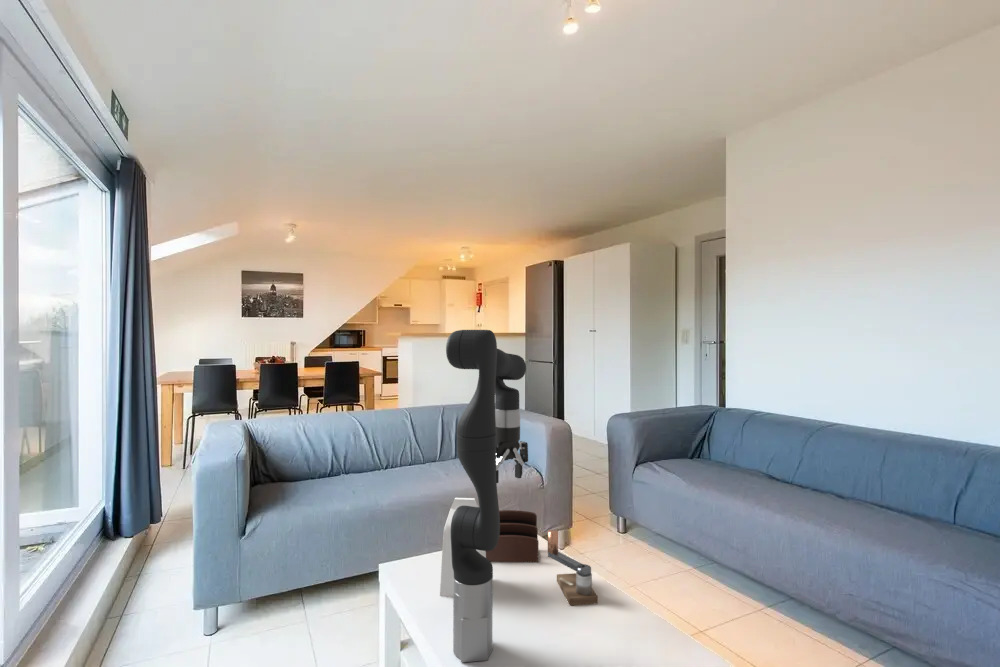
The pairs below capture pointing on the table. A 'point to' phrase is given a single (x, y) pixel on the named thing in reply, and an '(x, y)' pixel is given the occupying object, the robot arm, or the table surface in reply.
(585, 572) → the lever
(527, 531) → the letter holder
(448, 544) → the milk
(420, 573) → the table surface
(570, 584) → the press bench
